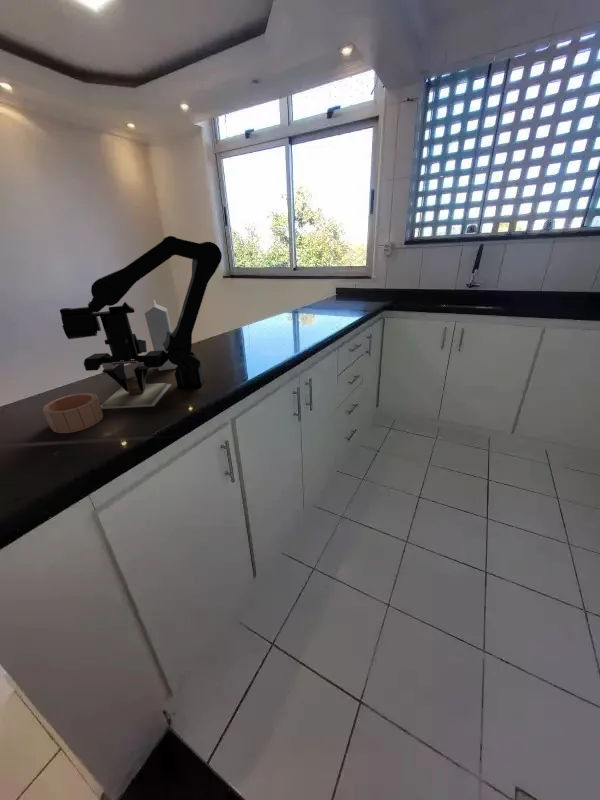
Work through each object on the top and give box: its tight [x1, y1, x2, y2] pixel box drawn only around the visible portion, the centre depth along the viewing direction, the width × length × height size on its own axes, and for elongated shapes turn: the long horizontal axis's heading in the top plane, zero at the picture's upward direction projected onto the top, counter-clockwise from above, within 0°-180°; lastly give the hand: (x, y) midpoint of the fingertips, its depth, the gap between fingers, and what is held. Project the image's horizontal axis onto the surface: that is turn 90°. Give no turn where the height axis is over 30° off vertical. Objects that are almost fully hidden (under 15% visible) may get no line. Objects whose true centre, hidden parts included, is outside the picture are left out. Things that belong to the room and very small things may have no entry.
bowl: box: [42, 392, 104, 434], centre depth 70 cm, size 10×10×6 cm
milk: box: [144, 299, 178, 371], centre depth 99 cm, size 6×6×22 cm
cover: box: [101, 376, 168, 407], centre depth 82 cm, size 12×12×5 cm
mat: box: [100, 383, 172, 410], centre depth 83 cm, size 14×14×1 cm
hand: (135, 390), depth 83 cm, fingers closed on cover, 4 cm apart
